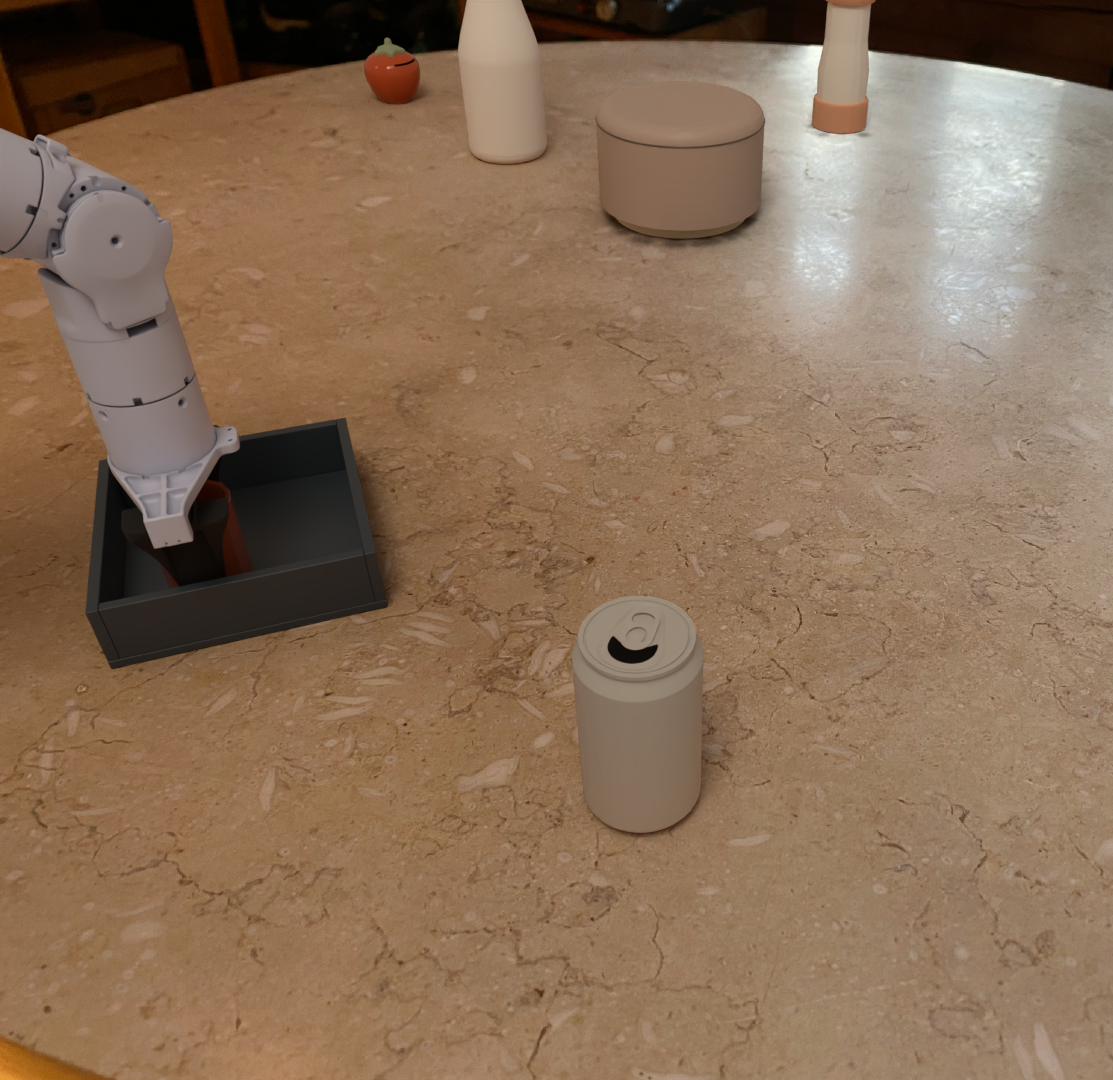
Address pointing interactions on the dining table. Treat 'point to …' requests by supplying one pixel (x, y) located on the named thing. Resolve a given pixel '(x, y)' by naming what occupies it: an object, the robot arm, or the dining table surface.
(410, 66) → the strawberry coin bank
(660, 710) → the beverage can
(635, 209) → the container
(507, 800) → the dining table surface
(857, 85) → the pepper shaker
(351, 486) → the bin
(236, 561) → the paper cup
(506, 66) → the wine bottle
